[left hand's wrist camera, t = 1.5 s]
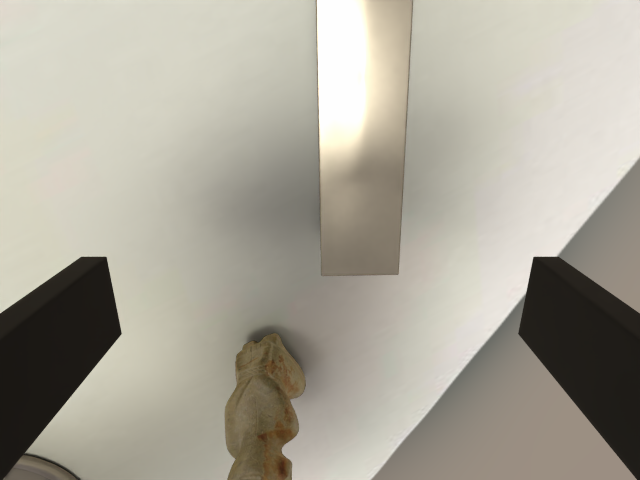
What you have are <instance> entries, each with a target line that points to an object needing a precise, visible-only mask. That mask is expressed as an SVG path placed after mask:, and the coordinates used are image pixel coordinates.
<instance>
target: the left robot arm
mask: <svg viewBox="0 0 640 480" xmlns="http://www.w3.org/2000/svg"><path fill="white" fill-rule="evenodd" d="M121 334H122V333H121V328H120V323H119V318H118V313H117V308H116V303H115V298H114V293H113V288H112V283H111V278H110V272H109V267H108V262H107V257H81V258H79V259H78V260H76V261H75V262H73V263H72V264H71V265H69V266H68V267H66V268H65V269H63V270H62V271H61V272H59V273H58V274H56V275H55V276H53V277H52V278H50V279H49V280H48V281H46V282H45V283H43V284H42V285H40V286H39V287H38V288H36V289H35V290H33V291H32V292H30V293H29V294H28V295H26V296H25V297H23V298H22V299H20V300H19V301H18V302H16V303H15V304H13V305H12V306H10V307H9V308H8V309H6V310H5V311H3V312H2V313H0V480H77V479H76V478H75V477H74V476H73V475H71V474H70V473H68V472H67V471H65V470H64V469H62V468H60V467H59V466H57V465H55V464H52V463H50V462H48V461H45V460H42V459H39V458H36V457H32V456H27V455H23V454H24V453H25V452H26V451H27V449H28V448H29V447H30V446H31V445H32V443H33V442H34V441H35V440H36V438H37V437H38V436H39V435H40V433H41V432H42V431H43V430H44V429H45V427H46V426H47V425H48V424H49V422H50V421H51V420H52V419H53V417H54V416H55V415H56V414H57V413H58V411H59V410H60V409H61V408H62V406H63V405H64V404H65V403H66V402H67V400H68V399H69V398H70V397H71V395H72V394H73V393H74V392H75V390H76V389H77V388H78V387H79V386H80V384H81V383H82V382H83V381H84V379H85V378H86V377H87V376H88V375H89V373H90V372H91V371H92V370H93V368H94V367H95V366H96V365H97V363H98V362H99V361H100V360H101V359H102V357H103V356H104V355H105V354H106V352H107V351H108V350H109V349H110V348H111V346H112V345H113V344H114V343H115V341H116V340H117V339H118V338H119V336H120V335H121ZM518 334H519V335H520V336H521V338H522V339H523V340H524V341H525V343H526V344H527V345H528V346H529V347H530V349H531V350H532V351H533V352H534V354H535V355H536V356H537V357H538V359H539V360H540V361H541V362H542V363H543V365H544V366H545V367H546V368H547V370H548V371H549V372H550V373H551V374H552V376H553V377H554V378H555V379H556V381H557V382H558V383H559V384H560V386H561V387H562V388H563V389H564V390H565V392H566V393H567V394H568V395H569V397H570V398H571V399H572V400H573V402H574V403H575V404H576V405H577V406H578V408H579V409H580V410H581V411H582V413H583V414H584V415H585V416H586V417H587V419H588V420H589V421H590V422H591V424H592V425H593V426H594V427H595V429H596V430H597V431H598V432H599V433H600V435H601V436H602V437H603V438H604V440H605V441H606V442H607V443H608V444H609V446H610V447H611V448H612V449H613V451H614V452H615V453H616V454H617V456H618V457H619V458H620V459H621V460H622V462H623V463H624V464H625V465H626V467H627V468H628V469H629V470H630V472H631V473H632V474H633V475H634V476H635V478H636V479H637V480H640V313H638V312H637V311H635V310H634V309H632V308H631V307H630V306H628V305H627V304H625V303H624V302H622V301H621V300H620V299H618V298H617V297H615V296H614V295H612V294H611V293H610V292H608V291H607V290H605V289H604V288H602V287H601V286H600V285H598V284H597V283H595V282H594V281H592V280H591V279H590V278H588V277H587V276H585V275H584V274H582V273H581V272H579V271H578V270H577V269H575V268H574V267H572V266H571V265H569V264H568V263H567V262H565V261H564V260H562V259H561V258H559V257H533V262H532V267H531V272H530V278H529V283H528V288H527V293H526V298H525V303H524V308H523V313H522V318H521V323H520V328H519V333H518Z"/></svg>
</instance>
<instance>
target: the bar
mask: <svg viewBox="0 0 640 480" xmlns="http://www.w3.org/2000/svg"><path fill="white" fill-rule="evenodd" d="M412 12H413V0H316V29H317V82H318V135H319V188H320V241H321V276H348V275H398V274H399V255H400V236H401V218H402V199H403V180H404V162H405V143H406V124H407V105H408V87H409V68H410V49H411V31H412Z"/></svg>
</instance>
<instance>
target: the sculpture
mask: <svg viewBox="0 0 640 480" xmlns="http://www.w3.org/2000/svg"><path fill="white" fill-rule="evenodd" d="M236 380H237V386H236V388H235V390H234V392H233V393H232V395H231V397H230V398H229V400H228V402H227V404H226V407H225V434H226V445H227V449H228V451H229V453H230V454H231V455H232V456H233V457H234V458H235V459H236V460H235V462H234V464H233V466H232V468H231V470H230V473H229V476H228V479H227V480H292V462H291V461H290V460H289V459H287V458H286V457H285V456H284V455H283V454H282V450H281V449H282V447H283V446H284V445H285V444H286V443H287V442H289V441H290V440H292V439H293V438H294V437H295V436H296V435H297V433H298V431H299V424H298V419H297V416H296V413H295V411H294V409H293V407H292V405H291V402H290V399H294V398H297V397H299V396H300V395H301V394H302V393H303V392H304V389H305V386H306V382H305V376H304V374H303V371H302V369H301V368H300V366H299V365H298V363H297V362H296V361H295V360H294V358H293V357H292V356H291V355H290V354H289V353H288V351H287V350H286V349H285V347H284V346H283V344H282V342H281V338H280V336H279V335H278V334H276V333H273V334H270V335H267V336H264V337H263V339H262V340H261V341H260V342H259V343H258V342H256V341H251V342H249V343H247V344H245V345H244V346H243V349H242V351H240V352H239V353H238V354H237V356H236Z"/></svg>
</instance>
